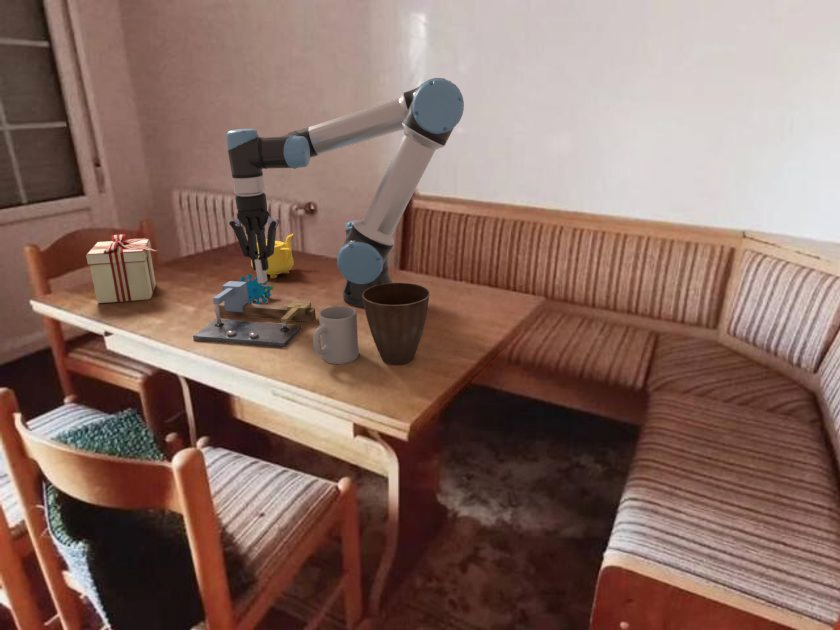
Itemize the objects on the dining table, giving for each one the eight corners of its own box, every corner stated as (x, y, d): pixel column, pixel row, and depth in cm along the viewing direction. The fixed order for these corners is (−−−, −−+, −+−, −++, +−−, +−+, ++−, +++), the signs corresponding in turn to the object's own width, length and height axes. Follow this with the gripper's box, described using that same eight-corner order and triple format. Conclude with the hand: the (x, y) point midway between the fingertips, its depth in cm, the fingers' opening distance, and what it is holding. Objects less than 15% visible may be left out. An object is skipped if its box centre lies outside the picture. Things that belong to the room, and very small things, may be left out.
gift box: (166, 297, 173) (155, 241, 166) (96, 306, 167) (83, 248, 160) (166, 280, 187) (157, 228, 181) (102, 288, 181) (90, 234, 175)
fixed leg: (311, 310, 158) (310, 302, 157) (293, 329, 146) (292, 320, 145) (294, 309, 159) (293, 300, 158) (274, 328, 147) (273, 318, 146)
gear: (241, 304, 162) (233, 273, 166) (236, 314, 167) (228, 284, 170) (279, 301, 169) (270, 272, 172) (273, 311, 173) (264, 282, 177)
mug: (339, 345, 141) (336, 303, 137) (366, 354, 137) (364, 310, 133) (303, 363, 132) (299, 319, 128) (330, 373, 128) (327, 327, 124)
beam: (315, 318, 157) (315, 308, 156) (312, 322, 155) (311, 311, 154) (220, 311, 162) (218, 301, 161) (215, 315, 160) (214, 304, 159)
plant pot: (351, 362, 133) (348, 296, 127) (390, 339, 144) (388, 278, 138) (405, 379, 125) (403, 310, 119) (441, 353, 137) (442, 289, 131)
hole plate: (301, 329, 150) (301, 322, 149) (284, 347, 140) (283, 340, 139) (216, 323, 154) (215, 316, 154) (193, 340, 144) (192, 332, 144)
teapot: (298, 278, 189) (295, 242, 185) (252, 281, 186) (248, 245, 182) (296, 265, 202) (293, 232, 197) (253, 268, 199) (249, 234, 194)
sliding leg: (250, 306, 161) (246, 281, 158) (227, 324, 149) (223, 297, 146) (233, 305, 162) (229, 280, 159) (209, 323, 150) (205, 296, 147)
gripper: (280, 190, 149) (291, 277, 158) (233, 190, 152) (246, 276, 161) (268, 196, 143) (280, 287, 151) (219, 196, 145) (233, 285, 154)
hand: (262, 281), depth 156 cm, fingers closed
